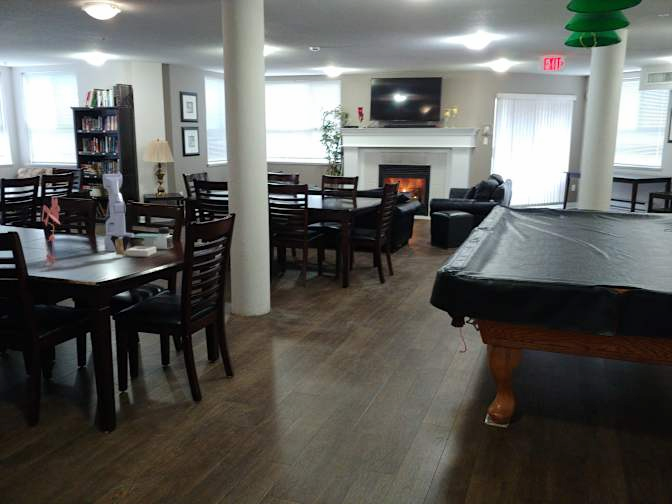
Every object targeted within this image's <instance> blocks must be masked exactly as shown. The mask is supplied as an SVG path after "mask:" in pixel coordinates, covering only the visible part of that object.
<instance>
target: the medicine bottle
mask: <svg viewBox="0 0 672 504" xmlns="http://www.w3.org/2000/svg"><path fill="white" fill-rule="evenodd" d="M158 234H161V236H160V237H158V238H155V243H156V250H157V249H158V250H160V249H161V250H169V249H171V248H173V247H174V241H173V235H170V228H169V227H159V228H158Z"/></svg>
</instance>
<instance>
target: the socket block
mask: <svg viewBox="0 0 672 504" xmlns="http://www.w3.org/2000/svg"><path fill="white" fill-rule="evenodd" d="M126 252H127V253H126V257H134V258H135V257H138V258H139V257H140V258H141V257H142V258H149V257H152V256H153V255H155V254H157V248H156V247H150V246H144V245H143V246H141V245H135V246H132V247H130V248H127V250H126Z"/></svg>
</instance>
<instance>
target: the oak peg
mask: <svg viewBox="0 0 672 504" xmlns="http://www.w3.org/2000/svg"><path fill="white" fill-rule="evenodd" d="M115 244H116V251H115V254H116V255H117V256H118V255H119V256H121V255H122V256H124V255H127V252H126V250H124V248H123V240H122V239H116V240H115Z"/></svg>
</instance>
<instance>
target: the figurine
mask: <svg viewBox="0 0 672 504" xmlns="http://www.w3.org/2000/svg"><path fill="white" fill-rule="evenodd" d="M58 203H59V202H58V198H57V197H54V196H52V197H51V206H50V208H48V206H46V205H43V206H42V215H41V222H44V224H45V226H46V227H47V226H48V224H49V225H51V227H52V228H53V229H52V234H51V235H50V236H49V237H48V240H46V241H45V242H44V243H45V248H46V251H47V254H46V255H45V256H46V259H45V261H44V264H43V267H45V266H46V265H47V262H48V261H49V262H50V264H49V266H48V268H47V270H49V271H50V269H51V267H52V265H55V263H56V264H57V265H58V267H60V268H61V269H63V267H62V266H61V264H60V263H58V262H57V261H56V259H55V253H54V252H55V251H54V250H55V249H54V248H52V256H51V255H50V253H49V249H48V246H47V243H48V242H50V241H51V242H52V245H51V246H52V247H54V244H55V243H54V242H55V241H56V236H55V235H54V234H55V225H54V224H53V223H51V222H49V218H51V219H52V222H54V223H55V222H56V224H58V225H60V226H61V225H62V224H61V223H60V221H59V213H60V211H61V208H60V206H59V205H58ZM45 213H46V214H47V215H46V218H45V219H44V214H45ZM63 263H65V264H73V265H75V266H77V264H76V263H73V262H70V261H69V262H67V261H64V262H63Z"/></svg>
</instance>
